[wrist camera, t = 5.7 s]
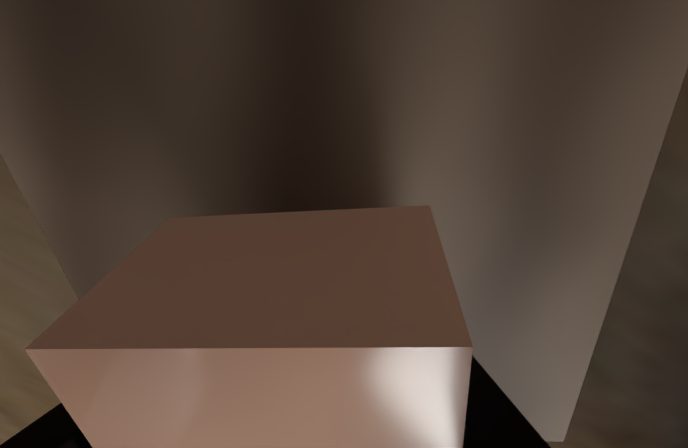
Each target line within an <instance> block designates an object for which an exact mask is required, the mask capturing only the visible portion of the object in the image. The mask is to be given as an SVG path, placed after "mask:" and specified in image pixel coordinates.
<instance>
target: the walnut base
mask: <svg viewBox="0 0 688 448" xmlns="http://www.w3.org/2000/svg"><path fill="white" fill-rule="evenodd" d="M687 68H688V0H0V154H1V156H2V158H3V159H4V161H5V163H6V165H7V167H8V169H9V171H10V172H11V174H12V176H13V178H14V180H15V182H16V183H17V185H18V187H19V189H20V191H21V193H22V195H23V196H24V198H25V200H26V202H27V204H28V206H29V208H30V209H31V211H32V213H33V215H34V217H35V219H36V221H37V222H38V224H39V226H40V228H41V230H42V232H43V234H44V235H45V237H46V239H47V241H48V243H49V245H50V247H51V248H52V250H53V252H54V254H55V256H56V258H57V260H58V261H59V263H60V265H61V267H62V269H63V271H64V273H65V274H66V276H67V278H68V280H69V282H70V284H71V286H72V287H73V289H74V291H75V293H76V295H77V297H78V299H79V300H80V299H81V298H82V297H83V296H84V295H85V294H86V293H87V292H88V291H90V290H91V289H92V288H93V287H94V286H95V285H96V284H97V283H98V282H99V281H101V280H102V279H103V278H104V277H105V276H106V275H107V274H108V273H109V272H111V271H112V270H113V269H114V268H115V267H116V266H117V265H118V264H119V263H120V262H122V261H123V260H124V259H125V258H126V257H127V256H128V255H129V254H130V253H132V252H133V251H134V250H135V249H136V248H137V247H138V246H139V245H140V244H141V243H143V242H144V241H145V240H146V239H147V238H148V237H149V236H150V235H151V234H153V233H154V232H155V231H156V230H157V229H158V228H159V227H160V226H161V225H162V224H164V223H165V222H166V221H167V220H168V219H169V218H175V217H196V216H217V215H238V214H258V213H279V212H300V211H321V210H342V209H362V208H383V207H404V206H425V205H430V208H431V211H432V214H433V218H434V221H435V224H436V228H437V231H438V234H439V237H440V241H441V244H442V247H443V251H444V254H445V257H446V260H447V264H448V267H449V270H450V274H451V277H452V280H453V283H454V287H455V290H456V293H457V296H458V300H459V303H460V306H461V310H462V313H463V316H464V319H465V323H466V326H467V329H468V333H469V336H470V339H471V342H472V346H473V351H472V355H473V356H474V357H475V359H476V360H477V361H478V362H479V363H480V365H481V366H482V367H483V368H484V369H485V370H486V372H487V373H488V374H489V375H490V376H491V378H492V379H493V380H494V381H495V382H496V383H497V385H498V386H499V387H500V388H501V389H502V391H503V392H504V393H505V394H506V395H507V396H508V398H509V399H510V400H511V401H512V402H513V404H514V405H515V406H516V407H517V408H518V409H519V411H520V412H521V413H522V414H523V415H524V417H525V418H526V419H527V420H528V421H529V422H530V424H531V425H532V426H533V427H534V428H535V430H536V431H537V432H538V433H539V434H540V435H541V437H542V438H543V439H544V440H545V441H554V442H563V441H564V438H565V435H566V432H567V429H568V426H569V423H570V420H571V417H572V414H573V411H574V408H575V405H576V402H577V399H578V396H579V393H580V390H581V387H582V384H583V381H584V378H585V375H586V372H587V369H588V366H589V363H590V360H591V357H592V354H593V351H594V348H595V345H596V342H597V339H598V336H599V333H600V330H601V327H602V324H603V321H604V318H605V315H606V312H607V309H608V306H609V303H610V300H611V297H612V294H613V291H614V288H615V285H616V282H617V279H618V275H619V272H620V269H621V266H622V263H623V260H624V257H625V254H626V251H627V248H628V245H629V242H630V239H631V236H632V233H633V230H634V227H635V224H636V221H637V218H638V215H639V212H640V209H641V206H642V203H643V200H644V197H645V194H646V191H647V188H648V185H649V182H650V179H651V176H652V173H653V170H654V167H655V164H656V161H657V158H658V155H659V152H660V149H661V146H662V143H663V140H664V137H665V134H666V131H667V128H668V125H669V122H670V119H671V116H672V113H673V110H674V107H675V104H676V101H677V98H678V95H679V92H680V89H681V86H682V83H683V80H684V77H685V74H686V71H687Z"/></svg>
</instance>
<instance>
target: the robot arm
mask: <svg viewBox="0 0 688 448" xmlns="http://www.w3.org/2000/svg"><path fill="white" fill-rule="evenodd" d="M0 448H93V447H92V446H91V445H90V443H89V442H88V440H87V439H86V437H85V436H84V434H83V433H82V432H81V430H80V429H79V427H78V426H77V424H76V423H75V421H74V420H73V419H72V417H71V416H70V414H69V413H68V411H67V410H66V408H65V407H64V406H63V404H62V403H60V404H59V405H57V406H56V407H54V408H53V409H52V410H50V411H49V412H47V413H46V414H44V415H43V416H42V417H40V418H39V419H37V420H36V421H34V422H33V423H31V424H30V425H29V426H27V427H26V428H24V429H23V430H21V431H20V432H19V433H17V434H16V435H14V436H13V437H11V438H10V439H8V440H7V441H6V442H4V443H3V444H1V445H0ZM463 448H551V447H550V446H549V445H548V444H547V443H546V441H545V440H544V439H543V438H542V437H541V435H540V434H539V433H538V432H537V431H536V430H535V428H534V427H533V426H532V425H531V424H530V422H529V421H528V420H527V419H526V418H525V417H524V415H523V414H522V413H521V412H520V411H519V409H518V408H517V407H516V406H515V405H514V404H513V402H512V401H511V400H510V399H509V398H508V396H507V395H506V394H505V393H504V392H503V391H502V389H501V388H500V387H499V386H498V385H497V383H496V382H495V381H494V380H493V379H492V378H491V376H490V375H489V374H488V373H487V372H486V370H485V369H484V368H483V367H482V366H481V365H480V363H479V362H478V361H477V360H476V359H475V357H474V356H473V355H472V361H471V371H470V381H469V390H468V400H467V410H466V420H465V430H464V439H463Z"/></svg>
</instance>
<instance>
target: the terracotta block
mask: <svg viewBox="0 0 688 448" xmlns="http://www.w3.org/2000/svg"><path fill="white" fill-rule="evenodd" d="M25 351H26V352H27V354H28V355H29V356H30V358H31V359H32V361H33V362H34V364H35V365H36V367H37V368H38V369H39V371H40V372H41V374H42V375H43V377H44V378H45V380H46V381H47V382H48V384H49V385H50V387H51V388H52V390H53V391H54V393H55V394H56V395H57V397H58V398H59V400H60V401H61V403H62V404H63V406H64V407H65V408H66V410H67V411H68V413H69V414H70V416H71V417H72V419H73V420H74V421H75V423H76V424H77V426H78V427H79V429H80V430H81V432H82V433H83V434H84V436H85V437H86V439H87V440H88V442H89V443H90V445H91V446H92V447H93V448H463V439H464V430H465V420H466V410H467V400H468V390H469V381H470V371H471V361H472V351H473V346H472V342H471V339H470V336H469V333H468V329H467V326H466V323H465V319H464V316H463V313H462V310H461V306H460V303H459V300H458V296H457V293H456V290H455V287H454V283H453V280H452V277H451V274H450V270H449V267H448V264H447V260H446V257H445V254H444V251H443V247H442V244H441V241H440V237H439V234H438V231H437V228H436V224H435V221H434V218H433V214H432V211H431V208H430V205H425V206H404V207H383V208H362V209H342V210H321V211H300V212H279V213H258V214H238V215H217V216H196V217H175V218H169V219H168V220H167V221H166V222H165V223H164V224H162V225H161V226H160V227H159V228H158V229H157V230H156V231H155V232H154V233H153V234H151V235H150V236H149V237H148V238H147V239H146V240H145V241H144V242H143V243H141V244H140V245H139V246H138V247H137V248H136V249H135V250H134V251H133V252H132V253H130V254H129V255H128V256H127V257H126V258H125V259H124V260H123V261H122V262H120V263H119V264H118V265H117V266H116V267H115V268H114V269H113V270H112V271H111V272H109V273H108V274H107V275H106V276H105V277H104V278H103V279H102V280H101V281H99V282H98V283H97V284H96V285H95V286H94V287H93V288H92V289H91V290H90V291H88V292H87V293H86V294H85V295H84V296H83V297H82V298H81V299H80V300H78V301H77V302H76V303H75V304H74V305H73V306H72V307H71V308H70V309H69V310H67V311H66V312H65V313H64V314H63V315H62V316H61V317H60V318H59V319H57V320H56V321H55V322H54V323H53V324H52V325H51V326H50V327H49V328H48V329H46V330H45V331H44V332H43V333H42V334H41V335H40V336H39V337H38V338H36V339H35V340H34V341H33V342H32V343H31V344H30V345H29V346H28V347H27V348H25Z"/></svg>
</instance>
